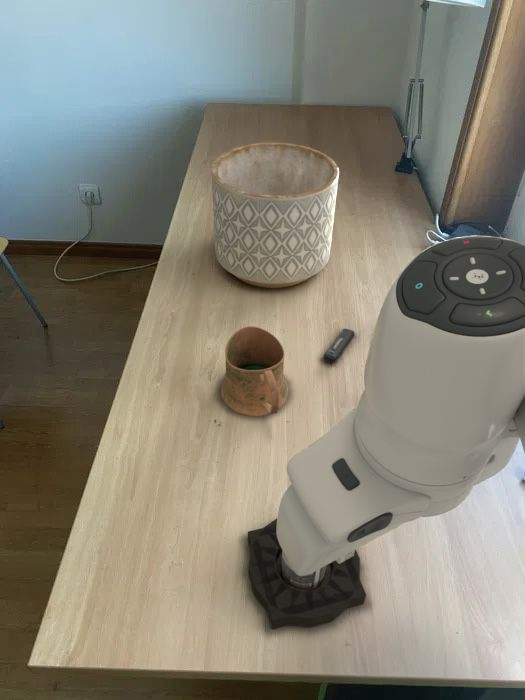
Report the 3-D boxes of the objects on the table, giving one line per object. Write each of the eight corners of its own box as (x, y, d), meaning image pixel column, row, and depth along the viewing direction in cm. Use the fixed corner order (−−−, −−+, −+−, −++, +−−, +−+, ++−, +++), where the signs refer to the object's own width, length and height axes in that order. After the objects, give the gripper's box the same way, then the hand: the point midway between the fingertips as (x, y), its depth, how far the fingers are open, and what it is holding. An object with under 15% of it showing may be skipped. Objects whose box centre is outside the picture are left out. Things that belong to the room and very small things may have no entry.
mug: (238, 450, 88) (237, 398, 80) (215, 373, 100) (211, 322, 92) (308, 436, 90) (313, 383, 82) (277, 362, 103) (279, 311, 95)
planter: (285, 310, 114) (290, 211, 99) (192, 266, 125) (184, 171, 110) (349, 256, 129) (362, 163, 114) (261, 221, 141) (262, 132, 126)
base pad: (374, 609, 70) (377, 600, 68) (265, 640, 67) (266, 631, 66) (334, 512, 80) (336, 503, 78) (238, 535, 77) (238, 526, 76)
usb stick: (342, 331, 110) (343, 325, 109) (355, 336, 109) (356, 330, 108) (321, 360, 104) (322, 354, 102) (334, 365, 103) (335, 359, 102)
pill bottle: (303, 543, 77) (308, 502, 70) (333, 574, 73) (341, 535, 67) (271, 568, 74) (273, 528, 67) (301, 602, 71) (306, 564, 64)
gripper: (500, 361, 44) (457, 451, 54) (265, 470, 38) (268, 548, 48) (562, 422, 40) (503, 506, 50) (312, 553, 34) (304, 617, 45)
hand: (386, 527), depth 49 cm, fingers open, 8 cm apart
